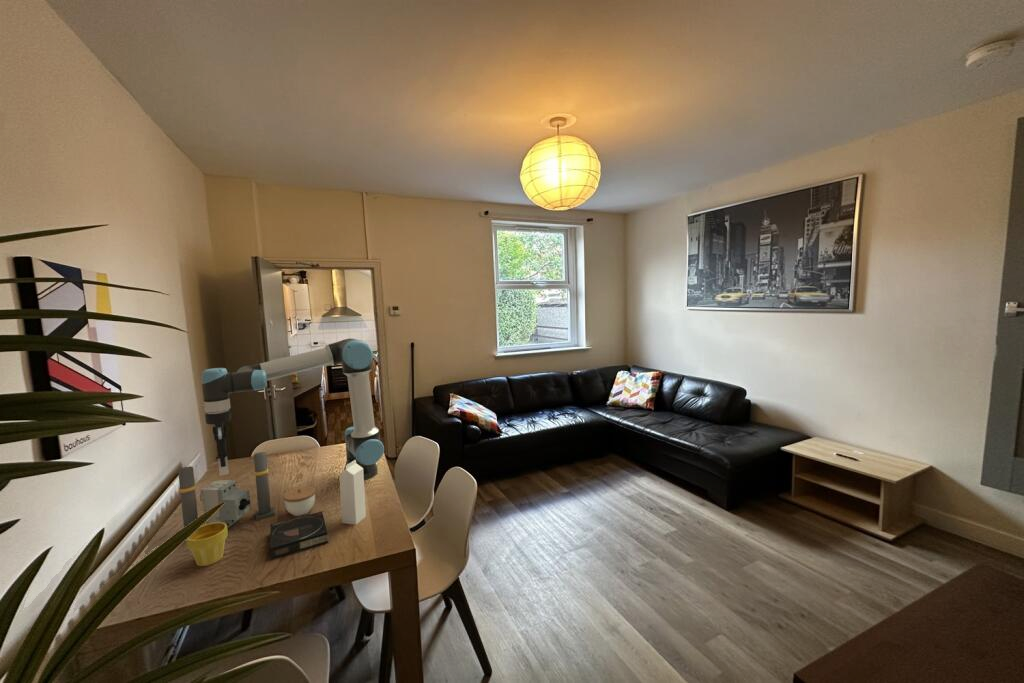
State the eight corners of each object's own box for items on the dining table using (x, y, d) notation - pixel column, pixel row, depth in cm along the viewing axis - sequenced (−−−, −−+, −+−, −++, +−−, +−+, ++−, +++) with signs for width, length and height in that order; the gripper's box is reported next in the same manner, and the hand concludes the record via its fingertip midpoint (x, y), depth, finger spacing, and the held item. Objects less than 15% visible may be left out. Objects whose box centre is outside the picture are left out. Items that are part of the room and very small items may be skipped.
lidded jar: (322, 507, 159) (321, 484, 158) (300, 521, 149) (298, 497, 148) (301, 503, 163) (300, 481, 162) (278, 516, 153) (276, 493, 152)
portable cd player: (271, 561, 126) (270, 549, 126) (271, 535, 141) (270, 524, 141) (328, 544, 135) (327, 533, 134) (322, 521, 149) (321, 511, 149)
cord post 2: (273, 508, 159) (268, 449, 156) (274, 515, 154) (270, 454, 151) (255, 513, 155) (250, 453, 153) (256, 520, 150) (251, 458, 148)
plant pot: (183, 574, 120) (180, 543, 119) (194, 555, 130) (191, 526, 129) (225, 565, 124) (222, 535, 124) (233, 546, 134) (230, 518, 133)
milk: (342, 523, 147) (337, 465, 145) (352, 514, 153) (348, 458, 151) (356, 525, 146) (352, 466, 143) (366, 516, 152) (362, 459, 149)
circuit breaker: (242, 529, 144) (238, 489, 143) (203, 530, 144) (199, 490, 143) (255, 518, 152) (252, 480, 150) (218, 518, 152) (215, 480, 150)
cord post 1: (203, 527, 146) (196, 463, 143) (202, 535, 141) (196, 469, 139) (181, 533, 142) (175, 468, 140) (180, 541, 137) (173, 473, 135)
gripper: (205, 409, 148) (211, 471, 151) (204, 417, 138) (211, 483, 140) (230, 405, 153) (235, 465, 155) (230, 413, 142) (237, 477, 144)
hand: (224, 474), depth 148 cm, fingers closed
